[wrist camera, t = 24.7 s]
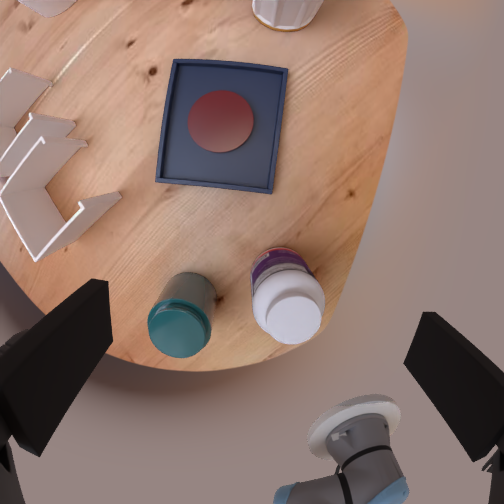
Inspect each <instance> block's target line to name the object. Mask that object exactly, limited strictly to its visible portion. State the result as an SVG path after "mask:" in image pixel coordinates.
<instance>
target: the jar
mask: <svg viewBox="0 0 504 504" xmlns="http://www.w3.org/2000/svg"><path fill="white" fill-rule="evenodd" d="M216 303H217V295H216V291H215V289H214V287H213V285H212V284H211V283H210V282H209V281H208V280H207V279H206V278H205V277H203V276H201V275H199V274H196V273H191V272H185V273H180V274H177V275H175V276H174V277H172V278H171V279H170V280H169V281H168V283H167V284H166V286H165V288H164V289H163V291H162V293H161V294H160V296H159V297H158V299H157V301H156V302H155V304H154V306H153V307H152V309H151V311H150V313H149V315H148V322H147V324H148V329H149V336H150V339H151V341H152V343H153V344H154V345H155V347H156V348H157V349H158V350H160V351H161V352H162V353H164V354H166V355H168V356H171V357H175V358H187V357H190V356H193V355H195V354H196V353H198V352H199V351H200V350H201V349H202V348H204V347H205V346H206V344H207V343H208V341H209V339H210V336H211V331H212V325H213V320H214V314H215V309H216Z"/></svg>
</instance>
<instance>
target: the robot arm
mask: <svg viewBox="0 0 504 504" xmlns="http://www.w3.org/2000/svg"><path fill="white" fill-rule="evenodd" d="M112 342H113V336H112V326H111V316H110V303H109V287H108V281H104V280H98V279H90V280H89V281H88V282H87V283H85V284H84V285H83V286H81V287H80V288H79V289H78V290H76V291H75V292H74V293H73V294H71V295H70V296H69V297H68V298H66V299H65V300H64V301H63V302H62V303H60V304H59V305H58V306H57V307H55V308H54V309H53V310H52V311H51V312H49V313H48V314H47V315H46V316H45V317H44V318H43V319H41V320H40V321H39V322H38V323H37V324H35V325H34V326H33V327H32V328H31V329H30V330H28V329H26V330H24V331H21V332H19V333H17V334H15V335H13V336H12V337H11V338H10V339H9V340H8V341H7V342H6V343H5V345H2V346H1V347H0V504H25V501H24V498H23V495H22V492H21V488H20V485H19V481H18V477H17V474H16V469H15V465H14V460H13V455H12V451H11V447H10V445H9V442H8V439H9V438H10V437H11V435H13V437H14V438H15V440H16V442H17V443H18V445H19V446H20V447H21V448H23V449H25V450H26V451H28V452H30V453H32V454H34V455H36V456H38V457H40V456H41V454H42V452H43V450H44V449H45V447H46V445H47V443H48V442H49V440H50V438H51V436H52V435H53V433H54V432H55V430H56V428H57V427H58V425H59V423H60V422H61V420H62V418H63V417H64V415H65V413H66V412H67V410H68V408H69V407H70V405H71V404H72V402H73V401H74V399H75V397H76V396H77V394H78V393H79V391H80V390H81V388H82V386H83V385H84V383H85V382H86V380H87V379H88V377H89V376H90V374H91V373H92V371H93V370H94V368H95V367H96V365H97V364H98V362H99V361H100V360H101V358H102V357H103V355H104V354H105V352H106V351H107V349H108V348H109V346H110V345H111V344H112ZM403 364H404V365H405V366H406V368H407V369H408V370H409V372H410V373H411V374H412V376H413V377H414V378H415V379H416V381H417V382H418V384H419V385H420V386H421V388H422V389H423V390H424V392H425V393H426V395H427V396H428V397H429V399H430V400H431V402H432V403H433V404H434V406H435V407H436V409H437V410H438V411H439V413H440V414H441V415H442V417H443V418H444V420H445V421H446V423H447V424H448V426H449V427H450V429H451V430H452V431H453V433H454V434H455V436H456V437H457V439H458V440H459V442H460V443H461V445H462V446H463V447H464V449H465V451H466V452H467V454H468V455H469V457H470V458H471V460H472V462H475V461H477V460H479V459H481V458H483V457H485V456H486V455H487V454H488V453H489V452H490V451H491V449H492V448H493V447H494V446H495V444H496V445H497V446H498V450H497V451H496V452H495V453H494V454H493V456H492V457H491V458H490V459H489V460H488V461H487V463H486V464H485V465H484V466H483V468H482V471H484V470H485V469H486V468H487V467H488V466H489V465H490V464H492V465H491V467H490V468H489V469H488V470H487V472H490V473H492V480H491V489H490V496H489V503H488V504H504V373H503V371H501V370H500V369H499V368H498V367H497V366H496V365H495V364H494V363H493V362H492V361H491V360H490V359H489V358H488V357H486V356H485V355H484V354H483V353H482V352H481V351H480V350H479V349H478V348H476V347H475V346H474V345H473V344H472V343H471V342H470V341H469V340H467V339H466V338H465V337H464V336H463V335H462V334H461V333H459V332H458V331H457V330H456V329H455V328H453V327H452V326H451V325H450V324H449V323H448V322H447V321H445V320H444V319H443V318H442V317H441V316H439V315H438V314H437V313H436V312H423V314H422V317H421V319H420V322H419V325H418V328H417V330H416V333H415V336H414V338H413V341H412V343H411V346H410V348H409V351H408V353H407V356H406V358H405V361H404V363H403ZM325 444H326V448H327V451H328V452H329V454H330V455H331V456H332V457H333V459H334V460H335V461H336V462H337V463H338V466H337V468H336V472H335V474H334V475H331V476H327V477H323V478H320V479H315V480H311V481H306V482H301V483H300V482H296V483H295V484H291V485H286V486H282V487H280V488H279V489H278V490H277V491H276V493H275V496H274V501H273V504H402V503H403V502H404V501H405V500H406V498H407V497H408V494H409V488H408V486H407V483H406V478H405V477H404V475H403V473H402V471H401V469H400V467H399V464H398V462H397V460H396V458H395V456H394V454H393V452H392V449H391V447H390V435H389V425H388V422H387V420H386V418H385V417H384V416H383V415H381V414H377V413H367V414H362V415H358V416H355V417H352V418H350V419H348V420H346V421H344V422H342V423H341V424H339V425H338V426H336V427H335V428H334V429H333V430H332V431H331V432H330V433H329V434H328V436H327V438H326V441H325ZM340 467H341V470H342V473H339V469H340ZM338 473H339V474H338Z"/></svg>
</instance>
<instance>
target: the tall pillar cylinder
mask: <svg viewBox="0 0 504 504" xmlns="http://www.w3.org/2000/svg"><path fill="white" fill-rule="evenodd" d="M17 1H19V2H21V3H22V4H24V5H26V6H27V7H29V8H31V9H32V10H34V11H35V12H37V13H39V14H40V15H42V16H44V17H53V16H56V15H58V14H60V13H62V12H64V11H65V10H67V9H68V8H69V7H70V6H72V5H73V4H74V3H75V2H76V1H77V0H17Z"/></svg>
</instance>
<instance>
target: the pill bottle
mask: <svg viewBox="0 0 504 504" xmlns="http://www.w3.org/2000/svg"><path fill="white" fill-rule="evenodd" d="M250 281H251V292H252V307H253V314H254V317H255V320H256V321H257V323H258V325H259V326H260V327H261V328H262V329H263V330H264V331H265V332H267V333H269V334H270V335H271V336H272V337H273V338H274V339H275V340H277V341H279V342H281V343H284V344H299V343H302V342H304V341H306V340H308V339H310V338H311V337H312V336H313V335H314V334H315V333H316V332H317V330H318V329H319V326H320V324H321V317H322V315H323V313H324V309H325V296H324V292H323V290H322V288H321V286H320V284H319V283H318V281H317V280H316V278H315V277H314V275H313V273H312V272H311V270H310V269H309V267H308V266H307V264H306V263H305V261H304V260H303V259H302V257H301V256H300V255H299V254H298V253H296V252H295V251H293V250H291V249H288V248H283V247H278V248H272V249H269V250H266V251H265V252H263V253H262V254H260V255H259V256H258V257H257V259H256V260H255V261H254V263H253V265H252V268H251V273H250Z"/></svg>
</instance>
